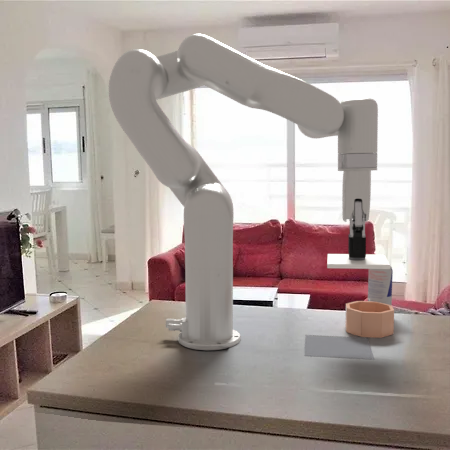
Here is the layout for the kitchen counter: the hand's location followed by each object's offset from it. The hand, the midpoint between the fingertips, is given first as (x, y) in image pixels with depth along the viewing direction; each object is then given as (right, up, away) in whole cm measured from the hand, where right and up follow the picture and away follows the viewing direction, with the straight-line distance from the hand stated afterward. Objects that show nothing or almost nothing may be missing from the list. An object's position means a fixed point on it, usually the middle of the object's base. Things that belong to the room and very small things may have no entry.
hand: (356, 254), depth 110 cm
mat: (-4, -18, -3) cm, 19 cm away
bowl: (+4, -17, +8) cm, 19 cm away
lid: (0, -2, 0) cm, 2 cm away
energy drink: (+10, -16, +19) cm, 26 cm away
